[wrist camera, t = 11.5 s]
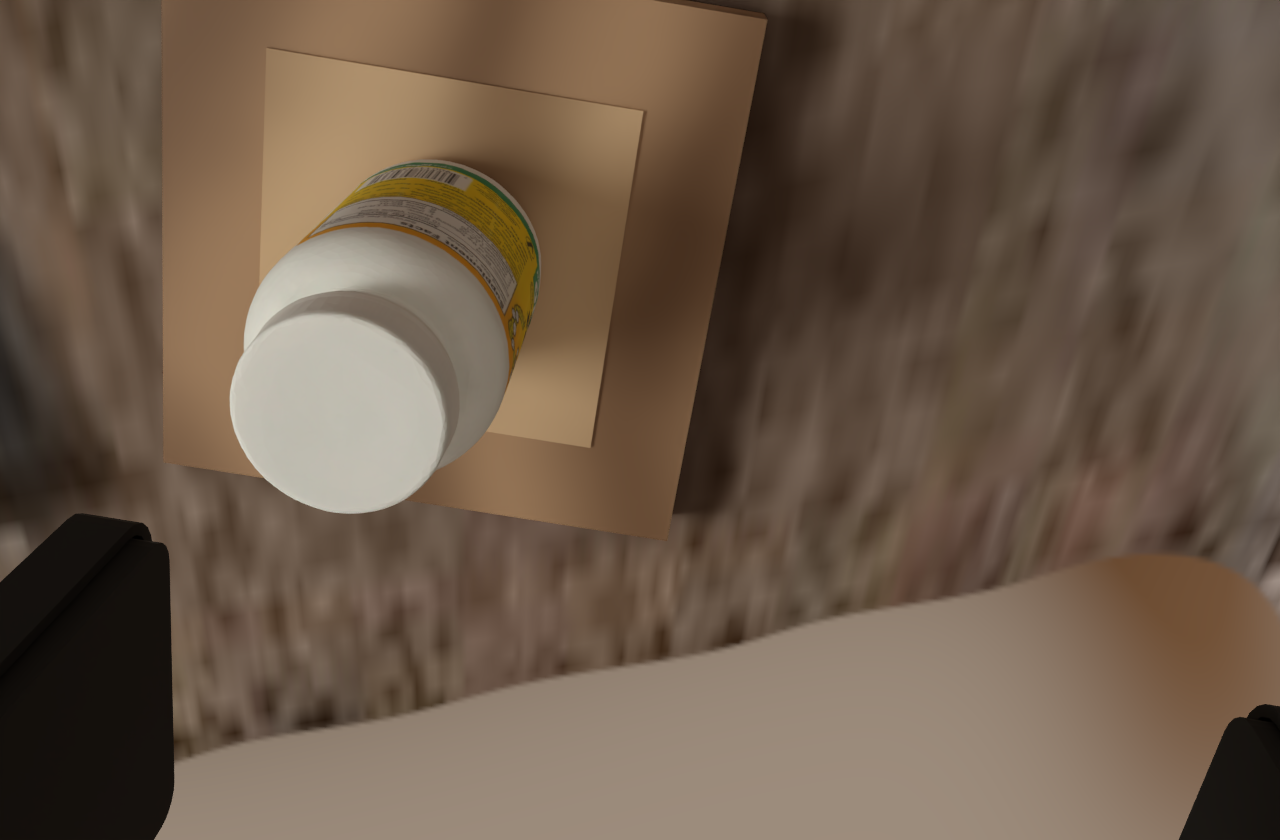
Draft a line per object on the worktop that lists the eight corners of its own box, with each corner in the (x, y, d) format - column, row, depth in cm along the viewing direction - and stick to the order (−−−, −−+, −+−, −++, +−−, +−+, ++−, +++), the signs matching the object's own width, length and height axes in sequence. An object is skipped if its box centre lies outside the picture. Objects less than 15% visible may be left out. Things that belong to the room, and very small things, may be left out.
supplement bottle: (435, 108, 29) (327, 207, 20) (589, 270, 30) (550, 427, 22) (288, 254, 30) (129, 404, 22) (441, 400, 32) (349, 596, 23)
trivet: (763, 13, 29) (767, 19, 28) (667, 515, 35) (667, 542, 34) (185, -86, 29) (159, -84, 27) (184, 439, 34) (162, 463, 33)
